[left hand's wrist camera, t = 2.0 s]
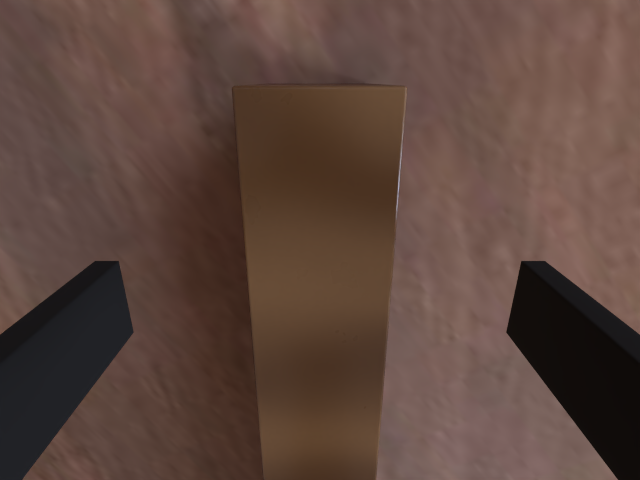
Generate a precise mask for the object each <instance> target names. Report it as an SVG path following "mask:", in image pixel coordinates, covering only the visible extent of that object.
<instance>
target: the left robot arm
mask: <svg viewBox="0 0 640 480" xmlns="http://www.w3.org/2000/svg"><path fill="white" fill-rule="evenodd" d="M132 334H133V327H132V322H131V318H130V313H129V308H128V304H127V299H126V294H125V289H124V285H123V280H122V275H121V270H120V266H119V261H95V262H93V263H92V264H91V265H89V266H88V267H87V268H86V269H84V270H83V271H82V272H80V273H79V274H78V275H77V276H75V277H74V278H73V279H71V280H70V281H69V282H68V283H66V284H65V285H64V286H62V287H61V288H60V289H59V290H57V291H56V292H55V293H53V294H52V295H51V296H49V297H48V298H47V299H46V300H44V301H43V302H42V303H40V304H39V305H38V306H37V307H35V308H34V309H33V310H31V311H30V312H29V313H28V314H26V315H25V316H24V317H22V318H21V319H20V320H19V321H17V322H16V323H15V324H13V325H12V326H11V327H10V328H8V329H7V330H6V331H4V332H3V333H2V334H1V335H0V480H22V479H23V478H24V476H25V475H26V474H27V472H28V471H29V470H30V468H31V467H32V466H33V464H34V463H35V462H36V460H37V459H38V458H39V456H40V455H41V454H42V452H43V451H44V450H45V449H46V447H47V446H48V445H49V443H50V442H51V441H52V439H53V438H54V437H55V435H56V434H57V433H58V431H59V430H60V429H61V427H62V426H63V425H64V423H65V422H66V421H67V420H68V418H69V417H70V416H71V414H72V413H73V412H74V410H75V409H76V408H77V406H78V405H79V404H80V402H81V401H82V400H83V398H84V397H85V396H86V394H87V393H88V392H89V390H90V389H91V388H92V387H93V385H94V384H95V383H96V381H97V380H98V379H99V377H100V376H101V375H102V373H103V372H104V371H105V369H106V368H107V367H108V365H109V364H110V363H111V361H112V360H113V359H114V358H115V356H116V355H117V354H118V352H119V351H120V350H121V348H122V347H123V346H124V344H125V343H126V342H127V340H128V339H129V338H130V336H131V335H132ZM507 334H508V335H509V336H510V338H511V339H512V340H513V342H514V343H515V344H516V346H517V347H518V348H519V350H520V351H521V352H522V354H523V355H524V356H525V358H526V359H527V360H528V361H529V363H530V364H531V365H532V367H533V368H534V369H535V371H536V372H537V373H538V375H539V376H540V377H541V379H542V380H543V381H544V383H545V384H546V385H547V387H548V388H549V389H550V391H551V392H552V393H553V394H554V396H555V397H556V398H557V400H558V401H559V402H560V404H561V405H562V406H563V408H564V409H565V410H566V412H567V413H568V414H569V416H570V417H571V418H572V420H573V421H574V422H575V423H576V425H577V426H578V427H579V429H580V430H581V431H582V433H583V434H584V435H585V437H586V438H587V439H588V441H589V442H590V443H591V445H592V446H593V447H594V449H595V450H596V451H597V452H598V454H599V455H600V456H601V458H602V459H603V460H604V462H605V463H606V464H607V466H608V467H609V468H610V470H611V471H612V472H613V474H614V475H615V476H616V478H617V479H618V480H640V335H639V334H638V333H637V332H636V331H634V330H633V329H632V328H630V327H629V326H628V325H627V324H625V323H624V322H623V321H621V320H620V319H619V318H618V317H616V316H615V315H614V314H612V313H611V312H610V311H609V310H607V309H606V308H605V307H603V306H602V305H601V304H600V303H598V302H597V301H596V300H594V299H593V298H592V297H590V296H589V295H588V294H587V293H585V292H584V291H583V290H581V289H580V288H579V287H578V286H576V285H575V284H574V283H572V282H571V281H570V280H569V279H567V278H566V277H565V276H563V275H562V274H561V273H560V272H558V271H557V270H556V269H554V268H553V267H552V266H551V265H549V264H548V263H547V262H545V261H521V266H520V270H519V275H518V280H517V285H516V289H515V294H514V299H513V303H512V308H511V313H510V318H509V322H508V327H507Z"/></svg>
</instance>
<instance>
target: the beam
mask: <svg viewBox="0 0 640 480" xmlns="http://www.w3.org/2000/svg"><path fill="white" fill-rule="evenodd" d="M232 97H233V109H234V121H235V134H236V146H237V159H238V171H239V183H240V196H241V208H242V221H243V233H244V245H245V258H246V270H247V283H248V295H249V307H250V320H251V332H252V345H253V357H254V369H255V382H256V394H257V407H258V419H259V431H260V444H261V456H262V469H263V480H376V474H377V461H378V449H379V436H380V424H381V411H382V399H383V386H384V374H385V361H386V349H387V336H388V324H389V311H390V299H391V286H392V274H393V261H394V249H395V236H396V224H397V211H398V199H399V186H400V174H401V161H402V149H403V136H404V124H405V111H406V99H407V87H406V86H397V85H381V84H258V85H242V86H234V87H232Z"/></svg>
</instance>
